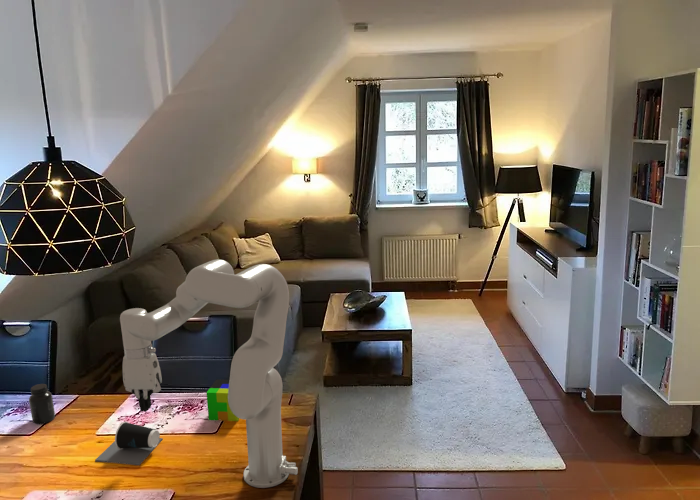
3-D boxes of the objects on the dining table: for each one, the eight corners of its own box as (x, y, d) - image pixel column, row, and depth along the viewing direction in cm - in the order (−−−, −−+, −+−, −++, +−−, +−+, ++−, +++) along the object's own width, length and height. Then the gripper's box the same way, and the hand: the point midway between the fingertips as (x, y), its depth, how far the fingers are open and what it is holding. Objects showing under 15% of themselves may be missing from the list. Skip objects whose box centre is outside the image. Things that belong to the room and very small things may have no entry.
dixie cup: (163, 422, 178) (131, 419, 180) (149, 427, 170) (115, 424, 173) (161, 449, 177) (128, 445, 180) (147, 455, 170) (113, 451, 172)
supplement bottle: (48, 412, 200) (44, 380, 197) (59, 418, 196) (54, 385, 193) (28, 421, 195) (23, 388, 192) (38, 427, 191) (33, 393, 188)
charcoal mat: (162, 439, 182) (162, 438, 182) (139, 465, 168) (139, 463, 168) (121, 436, 184) (121, 434, 184) (95, 461, 171) (95, 459, 171)
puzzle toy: (246, 406, 202) (244, 380, 200) (237, 421, 192) (236, 393, 190) (218, 405, 203) (216, 379, 201) (208, 420, 193) (206, 392, 191)
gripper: (168, 347, 170) (175, 404, 174) (121, 345, 173) (129, 402, 177) (155, 357, 163) (163, 416, 167) (107, 355, 166) (115, 414, 170)
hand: (145, 409), depth 172 cm, fingers closed
